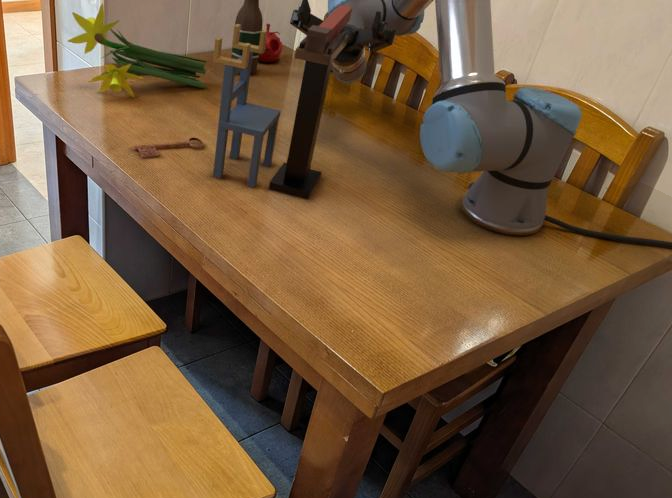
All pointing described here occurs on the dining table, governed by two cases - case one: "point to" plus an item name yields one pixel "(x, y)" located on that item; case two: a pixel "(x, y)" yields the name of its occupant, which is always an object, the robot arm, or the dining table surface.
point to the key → (153, 146)
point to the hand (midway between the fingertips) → (339, 12)
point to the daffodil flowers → (135, 58)
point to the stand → (307, 121)
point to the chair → (242, 109)
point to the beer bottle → (249, 29)
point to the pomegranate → (271, 47)
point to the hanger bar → (327, 30)
